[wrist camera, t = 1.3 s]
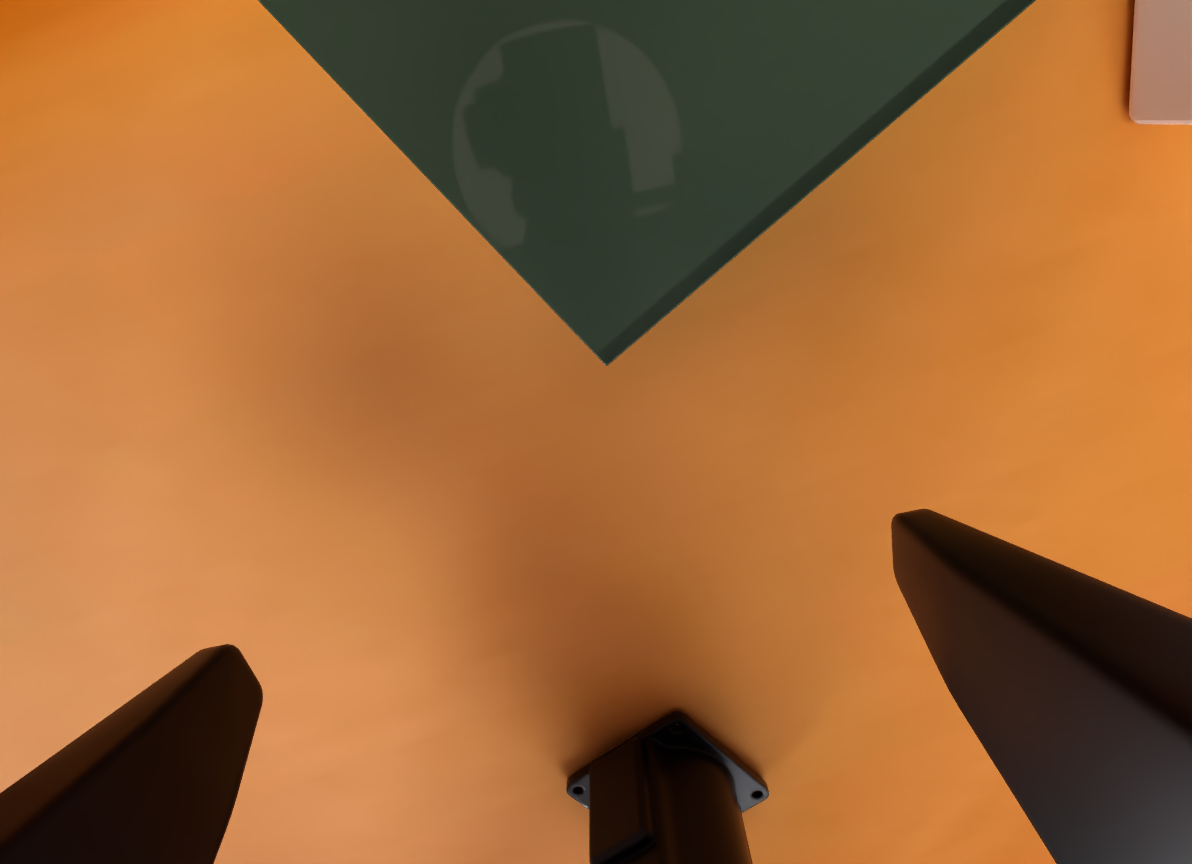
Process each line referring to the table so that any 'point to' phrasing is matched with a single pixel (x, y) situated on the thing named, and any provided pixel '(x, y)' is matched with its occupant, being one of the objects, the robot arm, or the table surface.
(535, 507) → the table surface
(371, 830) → the table surface
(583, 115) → the book
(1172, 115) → the medicine bottle
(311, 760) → the table surface
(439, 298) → the table surface
